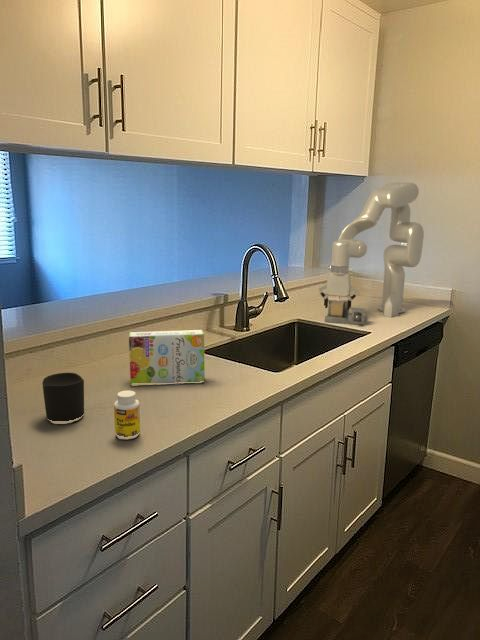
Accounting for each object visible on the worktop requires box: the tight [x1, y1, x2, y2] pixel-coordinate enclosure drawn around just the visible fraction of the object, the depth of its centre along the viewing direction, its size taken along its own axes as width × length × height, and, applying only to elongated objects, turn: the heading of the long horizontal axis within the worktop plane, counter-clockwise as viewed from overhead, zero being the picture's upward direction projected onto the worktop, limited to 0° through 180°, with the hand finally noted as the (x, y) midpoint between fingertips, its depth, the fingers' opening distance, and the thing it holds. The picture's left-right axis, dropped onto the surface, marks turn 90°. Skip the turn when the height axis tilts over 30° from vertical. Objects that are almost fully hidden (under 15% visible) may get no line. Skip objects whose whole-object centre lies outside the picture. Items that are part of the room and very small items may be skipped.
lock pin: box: [354, 312, 362, 321], centre depth 228 cm, size 14×4×4 cm, turn 163°
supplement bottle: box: [113, 390, 141, 437], centre depth 118 cm, size 6×6×10 cm
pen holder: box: [42, 372, 85, 421], centre depth 127 cm, size 9×9×10 cm
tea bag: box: [383, 294, 399, 319], centre depth 243 cm, size 4×7×10 cm, turn 137°
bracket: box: [324, 300, 367, 326], centre depth 232 cm, size 12×17×8 cm
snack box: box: [128, 329, 205, 385], centre depth 152 cm, size 21×6×15 cm, turn 100°
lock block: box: [331, 300, 344, 317], centre depth 233 cm, size 7×5×6 cm
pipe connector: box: [328, 296, 348, 302], centre depth 253 cm, size 10×10×10 cm
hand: (337, 308), depth 233 cm, fingers open, 9 cm apart
